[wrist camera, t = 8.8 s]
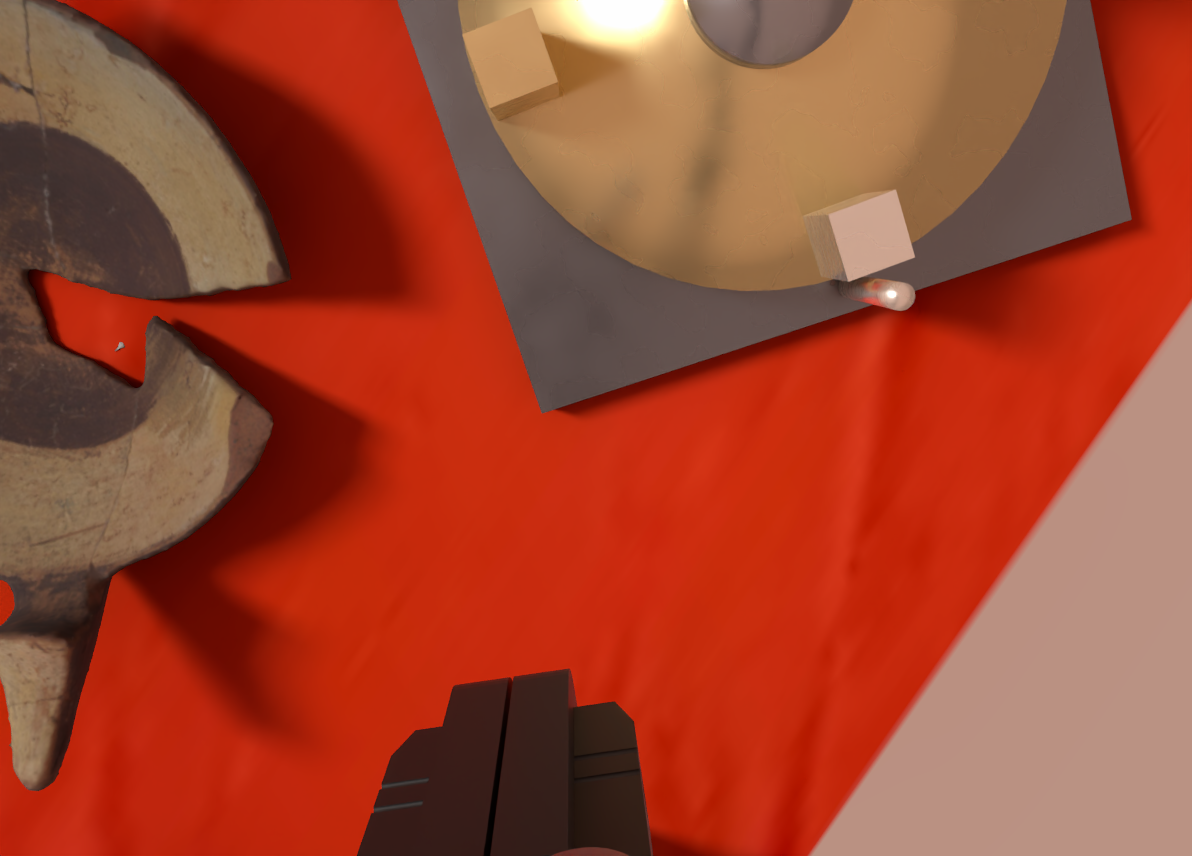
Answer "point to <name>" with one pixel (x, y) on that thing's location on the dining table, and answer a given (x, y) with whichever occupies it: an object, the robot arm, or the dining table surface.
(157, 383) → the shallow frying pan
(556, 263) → the base plate
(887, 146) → the round brass tray
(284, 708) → the dining table surface
